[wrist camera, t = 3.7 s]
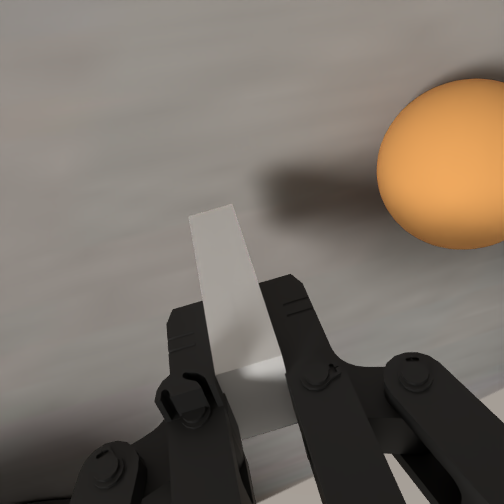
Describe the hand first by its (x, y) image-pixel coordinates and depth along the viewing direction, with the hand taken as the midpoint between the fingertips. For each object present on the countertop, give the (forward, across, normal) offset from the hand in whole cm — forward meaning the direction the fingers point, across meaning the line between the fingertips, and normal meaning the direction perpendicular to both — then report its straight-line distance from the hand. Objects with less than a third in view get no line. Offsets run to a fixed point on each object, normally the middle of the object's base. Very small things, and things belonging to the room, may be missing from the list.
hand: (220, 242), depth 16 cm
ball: (+1, +9, 0) cm, 9 cm away
